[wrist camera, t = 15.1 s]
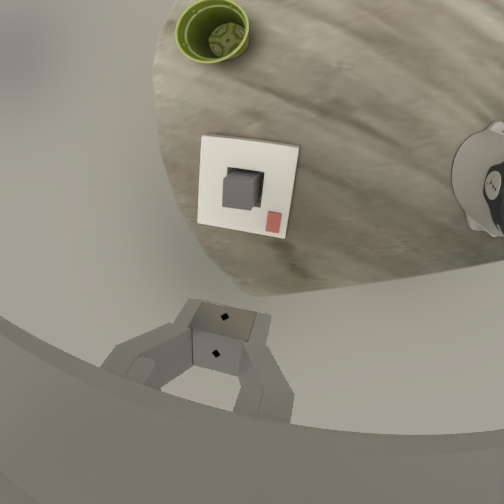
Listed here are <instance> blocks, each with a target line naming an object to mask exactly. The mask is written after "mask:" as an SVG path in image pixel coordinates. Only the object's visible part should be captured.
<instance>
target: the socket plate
mask: <svg viewBox="0 0 504 504" xmlns="http://www.w3.org/2000/svg"><path fill="white" fill-rule="evenodd" d="M299 148H300V146H299V145H293V144H287V143H280V142H274V141H267V140H259V139H252V138H243V137H235V136H225V135H215V134H205V135H202V141H201V157H200V175H199V197H198V223H200V224H206V225H212V226H217V227H223V228H229V229H234V230H240V231H245V232H251V233H256V234H262V235H267V236H273V237H278V238H283V239H285V235H286V231H287V225H288V219H289V213H290V207H291V201H292V194H293V188H294V181H295V175H296V168H297V161H298V155H299ZM232 168H240V169H247V170H254V171H260V172H265V175H264V183H263V191H262V200H261V202H257V201H256V203H255V205H254V206H253V208H252V209H251V211H249V210H242V209H235V208H227V207H222V195H223V178H225V177H226V176H227V175H228V174H229V173H231V170H232Z"/></svg>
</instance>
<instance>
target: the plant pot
mask: <svg viewBox="0 0 504 504" xmlns="http://www.w3.org/2000/svg"><path fill="white" fill-rule="evenodd" d="M220 28H223V29H222V30H221V31H219V32H218V33H217V34H216V31H217V30H219V29H220ZM238 29H241V30H242V31H243V32H244V35H242V34H241V32H240V31H239V30H238ZM248 33H249V21H248V17H247V15H246V13H245V11H244V10H243V9H242V7H241V6H240V5H238V4H237V3H235V2H234V1H232V0H199V1H197V2H195V3H193V4H192V5H190V6H189V7H188V8H187V9H186V10H185V11H184V12H183V13H182V14H181V16H180V18H179V19H178V21H177V24H176V28H175V41H176V44H177V46H178V48H179V50H180V51H181V52H182V53H183V54H184V55H185V56H186V57H187V58H189V59H191V60H193V61H196V62H199V63H216V62H220V61H223V60H225V59H233V58H236V57H238V56H240V55H241V54H243V53H244V52H245V50H246V49H247V47H248V44H249V35H248ZM227 39H229V40H230V41H229V42H227V41H226V40H227ZM213 47H216V49H217V50H218V52H219V53H217V52H216V51H215V50H214V48H213Z"/></svg>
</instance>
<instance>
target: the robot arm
mask: <svg viewBox="0 0 504 504" xmlns="http://www.w3.org/2000/svg"><path fill="white" fill-rule="evenodd" d="M503 130H504V123H502V122H500V121H498V120H496V121H494V122H493V123H492V124H491V125H490V126H489V127H488V128H487V129H486V130H484V131H482V132H479V133H476V134H474V135H472V136H471V137H469V138H468V139H467V140H466V141H465V142H464V143H463V144H462V145H461V147H460V148H459V150H458V152H457V154H456V157H455V159H454V163H453V168H452V185H453V190H454V193H455V196H456V198H457V200H458V202H459V204H460V205H461V207H462V208H463V210H464V212H465V215H466V220H467V224H468V226H469V228H471V229H472V230H475V231H486V232H487V233H489V234H490V235H491V236H493V237H496V236H501V237H503V236H504V133H503ZM270 322H271V314H267V313H261V312H254V311H249V310H245V309H240V308H235V307H230V306H227V305H223V304H218V303H215V302H210V301H207V300H202V299H198V298H195V297H190V298H189V299H188V300H187V302H186V304H185V305H184V307H183V308H182V310H181V311H180V313H179V314H178V316H177V318H176V319H175V321H174V323H173V324H172V323H167V324H165V325H163V326H160V327H158V328H156V329H153V330H151V331H149V332H146V333H144V334H142V335H140V336H137V337H135V338H133V339H130V340H128V341H126V342H123V343H121V344H119V345H116V346H115V348H114V349H113V350H112V352H111V353H110V354H109V356H108V357H107V358H106V360H105V361H104V363H103V364H102V365H101V367H100V368H99V367H96V366H95V365H92V364H90V363H88V362H86V361H84V360H81V359H79V358H77V357H75V356H72V355H70V354H69V353H67V352H64V351H62V350H60V349H58V348H56V347H54V346H52V345H51V344H48V343H47V342H45V341H43V340H41V339H39V338H37V337H35V336H34V335H32V334H30V333H28V332H26V331H24V330H23V329H21V328H19V327H18V326H16V325H14V324H12V323H11V322H9V321H8V320H6V319H4V318H3V317H1V316H0V504H504V429H500V430H494V431H486V432H475V433H462V434H443V435H394V434H392V435H391V434H372V433H359V432H347V431H338V430H329V429H322V428H314V427H307V426H300V425H294V424H290V420H291V414H292V408H293V401H294V393H293V391H292V389H291V387H290V386H289V384H288V382H287V381H286V379H285V377H284V375H283V373H282V372H281V370H280V368H279V366H278V365H277V362H276V361H275V359H274V357H273V355H272V353H271V352H270V350H269V348H268V347H267V346H266V342H267V336H268V332H269V327H270ZM193 365H195V366H199V367H203V368H208V369H212V370H216V371H220V372H223V373H227V374H230V375H234V376H238V379H239V381H240V384H241V388H240V391H239V394H238V398H237V400H236V403H235V406H234V409H233V412H231V411H226V410H223V409H219V408H215V407H211V406H208V405H204V404H201V403H197V402H194V401H190V400H187V399H184V398H181V397H177V396H174V395H171V394H168V393H165V392H162V391H161V387H162V386H164V385H165V384H167V383H168V382H170V381H171V380H173V379H174V378H176V377H177V376H179V375H180V374H182V373H183V372H185V371H186V370H188V369H189V368H191V367H192V366H193Z"/></svg>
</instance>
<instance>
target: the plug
mask: <svg viewBox="0 0 504 504" xmlns="http://www.w3.org/2000/svg"><path fill="white" fill-rule="evenodd" d="M261 179H262V172H260V171H254V170H247V169H240V168H235V169H234V170H233V171H232V172H231V173H229V174H228V175H227V176H226V177H225V178H223V195H222V207H227V208H235V209H242V210H249V211H251V209H252V208H253V206H254V205H255V203H256V201H257V200H258V198H259V196H260V191H261Z"/></svg>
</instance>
